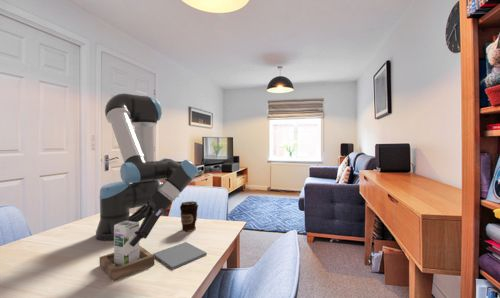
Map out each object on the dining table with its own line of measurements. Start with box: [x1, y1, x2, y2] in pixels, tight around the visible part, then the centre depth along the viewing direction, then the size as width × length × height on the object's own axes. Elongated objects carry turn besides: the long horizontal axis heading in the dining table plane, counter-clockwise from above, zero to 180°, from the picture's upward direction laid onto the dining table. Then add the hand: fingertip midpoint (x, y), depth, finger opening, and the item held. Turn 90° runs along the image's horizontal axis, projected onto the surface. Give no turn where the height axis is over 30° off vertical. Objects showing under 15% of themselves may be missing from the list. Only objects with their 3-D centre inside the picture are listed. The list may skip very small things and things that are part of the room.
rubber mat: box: [152, 241, 208, 270], centre depth 88 cm, size 14×14×1 cm
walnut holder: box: [99, 244, 155, 281], centre depth 81 cm, size 13×13×3 cm
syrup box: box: [113, 221, 140, 267], centre depth 81 cm, size 6×6×14 cm
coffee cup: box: [179, 200, 199, 232], centre depth 114 cm, size 9×8×13 cm
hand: (119, 246), depth 79 cm, fingers open, 13 cm apart
